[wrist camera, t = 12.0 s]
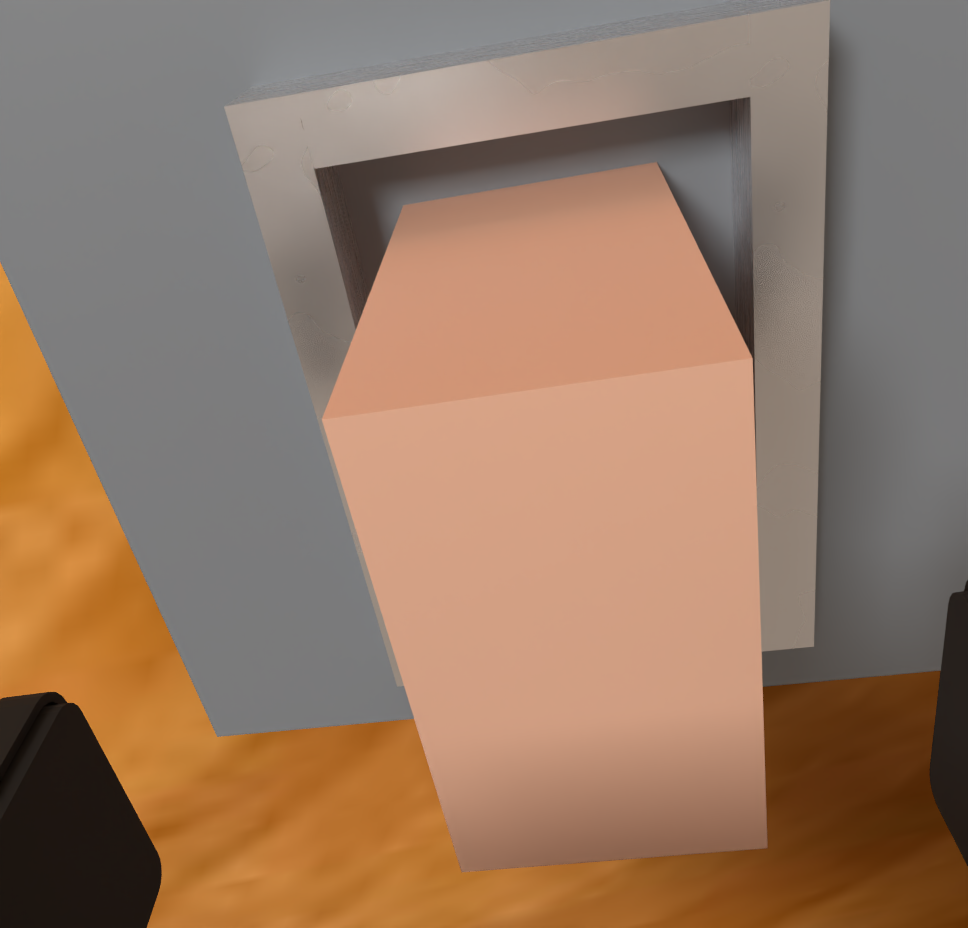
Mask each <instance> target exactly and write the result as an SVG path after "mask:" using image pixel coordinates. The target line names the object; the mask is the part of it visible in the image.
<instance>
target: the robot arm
mask: <svg viewBox="0 0 968 928" xmlns="http://www.w3.org/2000/svg"><path fill="white" fill-rule="evenodd" d="M930 783H931V788H932V792H933V795H934V798H935V801H936V804H937V806H938V808H939V810H940V812H941V814H942V816H943V818H944V820H945V822H946V824H947V826H948V828H949V830H950V832H951V834H952V836H953V838H954V840H955V842H956V844H957V846H958V848H959V850H960V852H961V854H962V856H963V858H964V860H965V862H966V864H967V866H968V580H967V582H966V585H965V589H964V591H961V592H955V593H952V595H951V596H950V598H949V603H948V610H947V619H946V628H945V637H944V646H943V655H942V664H941V673H940V682H939V691H938V700H937V708H936V717H935V726H934V735H933V744H932V753H931V762H930ZM161 875H162V874H161V862H160V858H159V855H158V853H157V851H156V849H155V847H154V845H153V843H152V841H151V840H150V838H149V836H148V834H147V832H146V830H145V828H144V827H143V825H142V823H141V821H140V819H139V817H138V815H137V813H136V812H135V810H134V808H133V806H132V804H131V802H130V800H129V799H128V797H127V795H126V793H125V791H124V789H123V787H122V786H121V784H120V782H119V780H118V778H117V776H116V774H115V772H114V771H113V769H112V767H111V765H110V763H109V761H108V759H107V758H106V756H105V754H104V752H103V750H102V748H101V746H100V745H99V743H98V741H97V739H96V737H95V735H94V733H93V731H92V730H91V728H90V726H89V724H88V722H87V720H86V718H85V717H84V715H83V713H82V711H81V710H80V708H79V707H78V706H77V705H75V704H74V703H67V702H66V701H65V699H64V698H63V697H62V696H61V695H60V694H58V693H56V692H46V693H38V694H30V695H22V696H14V697H6V698H2V699H0V928H147V925H148V922H149V919H150V916H151V913H152V910H153V907H154V904H155V901H156V898H157V895H158V892H159V888H160V884H161Z"/></svg>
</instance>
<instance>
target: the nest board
mask: <svg viewBox="0 0 968 928" xmlns="http://www.w3.org/2000/svg"><path fill="white" fill-rule="evenodd" d="M654 162H657V164H658V166H659V168H660V170H661V172H662V174H663V176H664V178H665V180H666V182H667V184H668V186H669V188H670V190H671V192H672V194H673V197H674V199H675V201H676V203H677V205H678V207H679V209H680V211H681V213H682V215H683V217H684V219H685V221H686V223H687V225H688V227H689V229H690V231H691V233H692V235H693V237H694V239H695V241H696V244H697V246H698V248H699V250H700V252H701V254H702V256H703V258H704V260H705V262H706V264H707V266H708V268H709V270H710V272H711V274H712V276H713V278H714V280H715V282H716V284H717V286H718V288H719V291H720V293H721V295H722V297H723V299H724V301H725V303H726V305H727V307H728V309H729V311H730V313H731V315H732V317H733V319H734V321H735V323H736V325H737V327H738V329H739V331H740V333H741V335H742V338H743V340H744V342H745V344H746V346H747V348H748V350H749V352H750V354H751V356H752V358H753V388H754V421H755V454H756V487H757V519H758V552H759V585H760V618H761V651H762V684H763V687H765V686H776V685H787V684H798V683H809V682H820V681H831V680H842V679H853V678H864V677H875V676H886V675H897V674H907V673H918V672H929V671H940V670H941V664H942V655H943V646H944V637H945V628H946V619H947V610H948V603H949V598H950V596H951V595H952V593H955V592H961V591H964V589H965V585H966V582H967V580H968V0H0V262H1V264H2V266H3V269H4V271H5V273H6V275H7V277H8V280H9V282H10V284H11V286H12V288H13V291H14V293H15V295H16V297H17V299H18V302H19V304H20V306H21V308H22V310H23V312H24V315H25V317H26V319H27V321H28V323H29V326H30V328H31V330H32V332H33V334H34V337H35V339H36V341H37V343H38V345H39V347H40V350H41V352H42V354H43V356H44V358H45V361H46V363H47V365H48V367H49V369H50V372H51V374H52V376H53V378H54V380H55V382H56V385H57V387H58V389H59V391H60V393H61V396H62V398H63V400H64V402H65V404H66V407H67V409H68V411H69V413H70V415H71V417H72V420H73V422H74V424H75V426H76V428H77V431H78V433H79V435H80V437H81V439H82V442H83V444H84V446H85V448H86V450H87V453H88V455H89V457H90V459H91V461H92V463H93V466H94V468H95V470H96V472H97V474H98V477H99V479H100V481H101V483H102V485H103V488H104V490H105V492H106V494H107V496H108V498H109V501H110V503H111V505H112V507H113V509H114V512H115V514H116V516H117V518H118V520H119V523H120V525H121V527H122V529H123V531H124V533H125V536H126V538H127V540H128V542H129V544H130V547H131V549H132V551H133V553H134V555H135V558H136V560H137V562H138V564H139V566H140V569H141V571H142V573H143V575H144V577H145V579H146V582H147V584H148V586H149V588H150V590H151V593H152V595H153V597H154V599H155V601H156V604H157V606H158V608H159V610H160V612H161V614H162V617H163V619H164V621H165V623H166V625H167V628H168V630H169V632H170V634H171V636H172V639H173V641H174V643H175V645H176V647H177V649H178V652H179V654H180V656H181V658H182V660H183V663H184V665H185V667H186V669H187V671H188V674H189V676H190V678H191V680H192V682H193V684H194V687H195V689H196V691H197V693H198V695H199V698H200V700H201V702H202V704H203V706H204V709H205V711H206V713H207V715H208V717H209V720H210V722H211V724H212V726H213V728H214V730H215V733H216V735H217V737H219V736H230V735H241V734H252V733H263V732H274V731H285V730H296V729H307V728H318V727H329V726H340V725H350V724H361V723H372V722H383V721H394V720H405V719H414V716H413V713H412V710H411V707H410V703H409V700H408V697H407V694H406V690H405V687H404V684H403V681H402V677H401V674H400V671H399V668H398V665H397V661H396V658H395V655H394V652H393V648H392V645H391V642H390V639H389V635H388V632H387V629H386V626H385V623H384V619H383V616H382V613H381V610H380V606H379V603H378V600H377V597H376V593H375V590H374V587H373V584H372V581H371V577H370V574H369V571H368V568H367V564H366V561H365V558H364V555H363V551H362V548H361V545H360V542H359V538H358V535H357V532H356V529H355V526H354V522H353V519H352V516H351V513H350V509H349V506H348V503H347V500H346V496H345V493H344V490H343V487H342V484H341V480H340V477H339V474H338V471H337V467H336V464H335V461H334V458H333V454H332V451H331V448H330V445H329V442H328V438H327V435H326V432H325V429H324V425H323V422H322V418H323V415H324V412H325V410H326V407H327V405H328V402H329V399H330V397H331V394H332V391H333V389H334V386H335V384H336V381H337V378H338V376H339V373H340V370H341V368H342V365H343V363H344V360H345V357H346V355H347V352H348V349H349V347H350V344H351V341H352V339H353V336H354V334H355V331H356V328H357V326H358V323H359V320H360V318H361V315H362V313H363V310H364V307H365V305H366V302H367V299H368V297H369V294H370V292H371V289H372V286H373V284H374V281H375V278H376V276H377V273H378V270H379V268H380V265H381V263H382V260H383V257H384V255H385V252H386V249H387V247H388V244H389V242H390V239H391V236H392V234H393V231H394V228H395V226H396V223H397V221H398V218H399V215H400V213H401V210H402V207H403V205H408V204H414V203H420V202H425V201H431V200H437V199H443V198H449V197H455V196H460V195H466V194H472V193H478V192H484V191H490V190H496V189H501V188H507V187H513V186H519V185H525V184H531V183H537V182H542V181H548V180H554V179H560V178H566V177H572V176H578V175H583V174H589V173H595V172H601V171H607V170H613V169H619V168H624V167H630V166H636V165H642V164H648V163H654Z"/></svg>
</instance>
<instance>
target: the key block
mask: <svg viewBox="0 0 968 928" xmlns="http://www.w3.org/2000/svg"><path fill="white" fill-rule="evenodd" d="M322 422H323V425H324V429H325V432H326V435H327V438H328V442H329V445H330V448H331V451H332V454H333V458H334V461H335V464H336V467H337V471H338V474H339V477H340V480H341V484H342V487H343V490H344V493H345V496H346V500H347V503H348V506H349V509H350V513H351V516H352V519H353V522H354V526H355V529H356V532H357V535H358V538H359V542H360V545H361V548H362V551H363V555H364V558H365V561H366V564H367V568H368V571H369V574H370V577H371V581H372V584H373V587H374V590H375V593H376V597H377V600H378V603H379V606H380V610H381V613H382V616H383V619H384V623H385V626H386V629H387V632H388V635H389V639H390V642H391V645H392V648H393V652H394V655H395V658H396V661H397V665H398V668H399V671H400V674H401V677H402V681H403V684H404V687H405V690H406V694H407V697H408V700H409V703H410V707H411V710H412V713H413V716H414V719H415V723H416V726H417V729H418V732H419V736H420V739H421V742H422V745H423V749H424V752H425V755H426V758H427V762H428V765H429V768H430V771H431V774H432V778H433V781H434V784H435V787H436V791H437V794H438V797H439V800H440V804H441V807H442V810H443V813H444V816H445V820H446V823H447V826H448V829H449V833H450V836H451V839H452V842H453V846H454V849H455V852H456V855H457V858H458V862H459V865H460V868H461V871H462V872H470V871H483V870H496V869H509V868H521V867H534V866H547V865H560V864H572V863H585V862H598V861H611V860H623V859H636V858H649V857H662V856H674V855H687V854H700V853H713V852H725V851H738V850H751V849H764V848H767V815H766V783H765V750H764V717H763V684H762V651H761V618H760V585H759V552H758V519H757V487H756V454H755V421H754V388H753V358H752V356H751V354H750V352H749V350H748V348H747V346H746V344H745V342H744V340H743V338H742V335H741V333H740V331H739V329H738V327H737V325H736V323H735V321H734V319H733V317H732V315H731V313H730V311H729V309H728V307H727V305H726V303H725V301H724V299H723V297H722V295H721V293H720V291H719V288H718V286H717V284H716V282H715V280H714V278H713V276H712V274H711V272H710V270H709V268H708V266H707V264H706V262H705V260H704V258H703V256H702V254H701V252H700V250H699V248H698V246H697V244H696V241H695V239H694V237H693V235H692V233H691V231H690V229H689V227H688V225H687V223H686V221H685V219H684V217H683V215H682V213H681V211H680V209H679V207H678V205H677V203H676V201H675V199H674V197H673V194H672V192H671V190H670V188H669V186H668V184H667V182H666V180H665V178H664V176H663V174H662V172H661V170H660V168H659V166H658V164H657V162H654V163H648V164H642V165H636V166H630V167H624V168H619V169H613V170H607V171H601V172H595V173H589V174H583V175H578V176H572V177H566V178H560V179H554V180H548V181H542V182H537V183H531V184H525V185H519V186H513V187H507V188H501V189H496V190H490V191H484V192H478V193H472V194H466V195H460V196H455V197H449V198H443V199H437V200H431V201H425V202H420V203H414V204H408V205H403V207H402V210H401V213H400V215H399V218H398V221H397V223H396V226H395V228H394V231H393V234H392V236H391V239H390V242H389V244H388V247H387V249H386V252H385V255H384V257H383V260H382V263H381V265H380V268H379V270H378V273H377V276H376V278H375V281H374V284H373V286H372V289H371V292H370V294H369V297H368V299H367V302H366V305H365V307H364V310H363V313H362V315H361V318H360V320H359V323H358V326H357V328H356V331H355V334H354V336H353V339H352V341H351V344H350V347H349V349H348V352H347V355H346V357H345V360H344V363H343V365H342V368H341V370H340V373H339V376H338V378H337V381H336V384H335V386H334V389H333V391H332V394H331V397H330V399H329V402H328V405H327V407H326V410H325V412H324V415H323V418H322Z"/></svg>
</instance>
